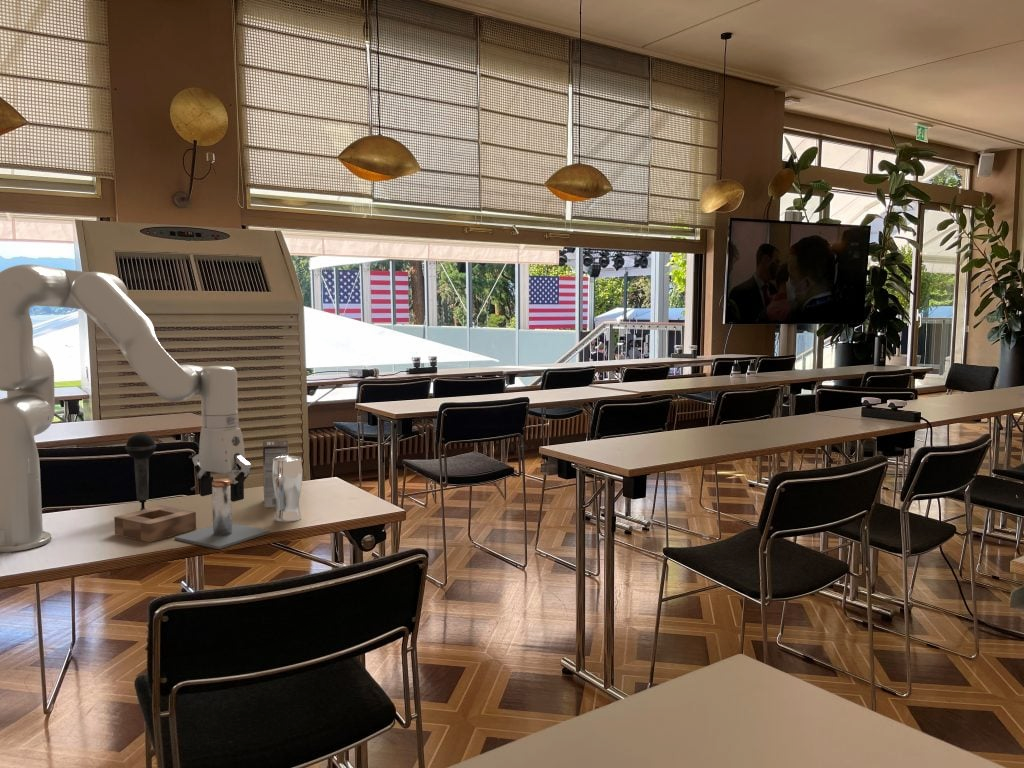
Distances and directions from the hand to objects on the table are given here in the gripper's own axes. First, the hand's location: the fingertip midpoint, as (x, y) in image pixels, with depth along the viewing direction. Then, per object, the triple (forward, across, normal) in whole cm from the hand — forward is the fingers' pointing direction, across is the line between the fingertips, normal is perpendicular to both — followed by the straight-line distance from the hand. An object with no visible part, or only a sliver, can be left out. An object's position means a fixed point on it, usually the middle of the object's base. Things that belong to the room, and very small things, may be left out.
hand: (221, 497), depth 168 cm
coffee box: (+9, +12, -28) cm, 32 cm away
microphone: (+9, +33, -4) cm, 34 cm away
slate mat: (+9, 0, 0) cm, 9 cm away
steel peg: (+8, 0, 0) cm, 8 cm away
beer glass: (+9, -2, -18) cm, 20 cm away
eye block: (+9, +16, +5) cm, 19 cm away
